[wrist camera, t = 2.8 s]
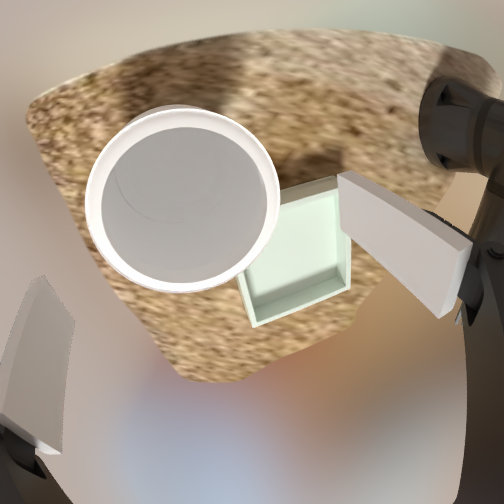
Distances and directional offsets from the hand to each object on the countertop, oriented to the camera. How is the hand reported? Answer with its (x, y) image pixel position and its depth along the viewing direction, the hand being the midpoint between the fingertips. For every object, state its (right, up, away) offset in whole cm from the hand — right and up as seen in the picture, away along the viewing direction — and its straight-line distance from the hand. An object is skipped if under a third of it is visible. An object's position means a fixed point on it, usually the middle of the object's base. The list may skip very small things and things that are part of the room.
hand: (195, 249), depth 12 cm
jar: (-6, +9, +15) cm, 19 cm away
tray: (+7, 0, +25) cm, 26 cm away
